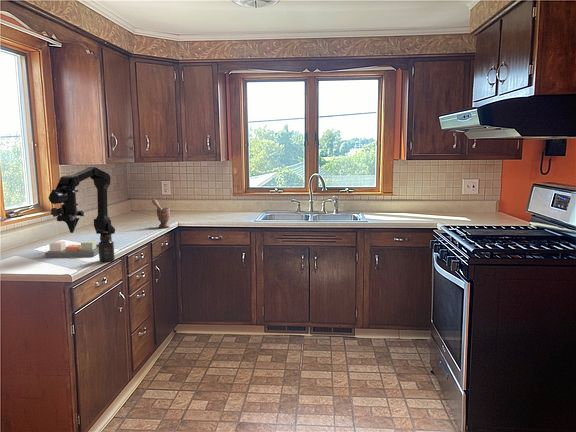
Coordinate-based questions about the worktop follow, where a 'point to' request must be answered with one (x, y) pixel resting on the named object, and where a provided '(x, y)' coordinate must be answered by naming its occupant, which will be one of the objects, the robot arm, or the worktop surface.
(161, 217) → the mortar and pestle
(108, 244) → the supplement bottle
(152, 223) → the worktop surface
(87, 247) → the sage button
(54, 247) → the cream button
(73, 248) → the terracotta button
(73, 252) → the console
